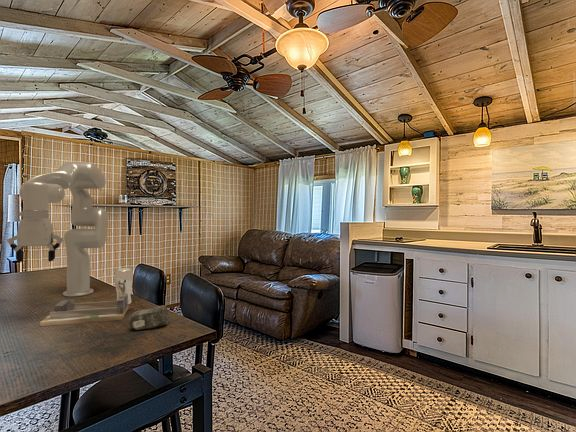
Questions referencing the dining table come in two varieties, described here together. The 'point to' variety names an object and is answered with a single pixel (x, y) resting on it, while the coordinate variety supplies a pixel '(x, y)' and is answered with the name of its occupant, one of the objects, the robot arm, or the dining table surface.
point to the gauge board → (89, 312)
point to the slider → (64, 306)
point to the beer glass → (124, 282)
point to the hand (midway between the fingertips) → (35, 261)
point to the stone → (149, 318)
